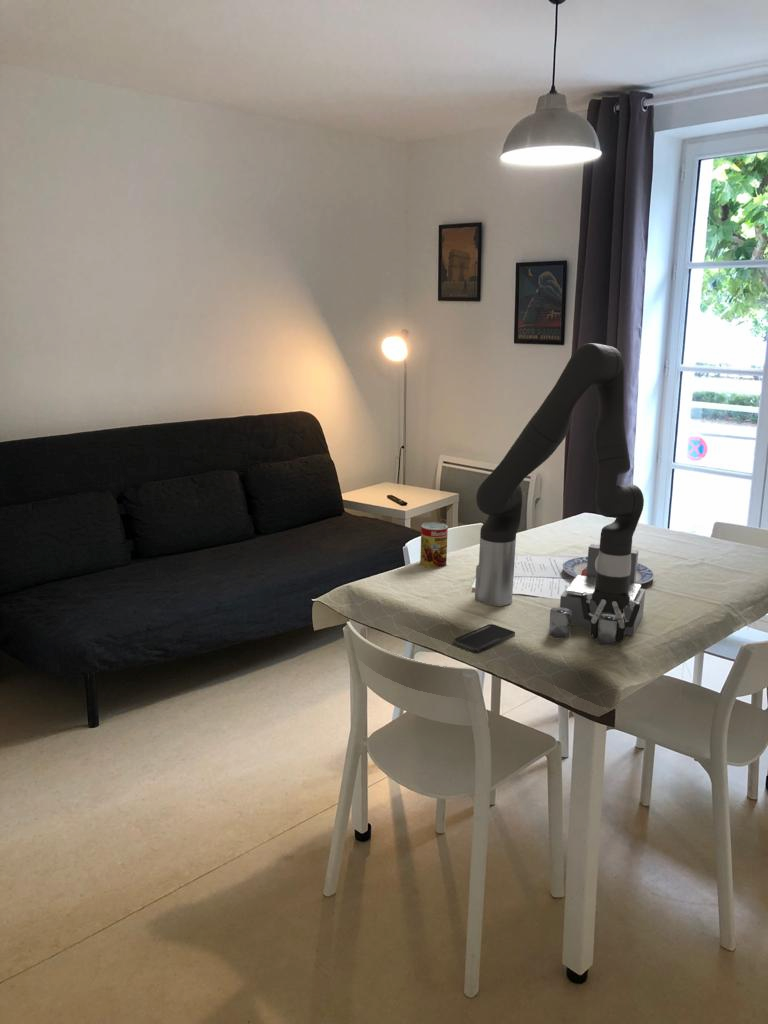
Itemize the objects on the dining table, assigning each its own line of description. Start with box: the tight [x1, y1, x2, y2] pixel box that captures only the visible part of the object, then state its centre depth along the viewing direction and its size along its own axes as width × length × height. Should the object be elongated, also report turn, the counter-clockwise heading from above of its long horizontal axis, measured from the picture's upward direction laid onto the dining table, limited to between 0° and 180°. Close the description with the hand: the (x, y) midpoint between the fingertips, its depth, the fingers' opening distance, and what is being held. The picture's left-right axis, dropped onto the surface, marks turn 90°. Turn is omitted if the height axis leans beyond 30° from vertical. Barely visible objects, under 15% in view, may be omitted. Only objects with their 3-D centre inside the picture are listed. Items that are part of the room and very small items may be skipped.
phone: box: [452, 623, 516, 653], centre depth 194 cm, size 8×1×15 cm
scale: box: [559, 543, 646, 636], centre depth 207 cm, size 18×18×16 cm
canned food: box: [419, 522, 449, 569], centre depth 247 cm, size 8×8×12 cm
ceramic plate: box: [562, 556, 655, 585], centre depth 240 cm, size 26×26×3 cm
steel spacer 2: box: [595, 614, 619, 647], centre depth 193 cm, size 5×5×6 cm
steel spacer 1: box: [548, 606, 572, 640], centre depth 197 cm, size 5×5×6 cm
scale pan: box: [565, 575, 642, 600], centre depth 206 cm, size 16×13×1 cm
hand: (607, 639), depth 194 cm, fingers closed on steel spacer 2, 5 cm apart
